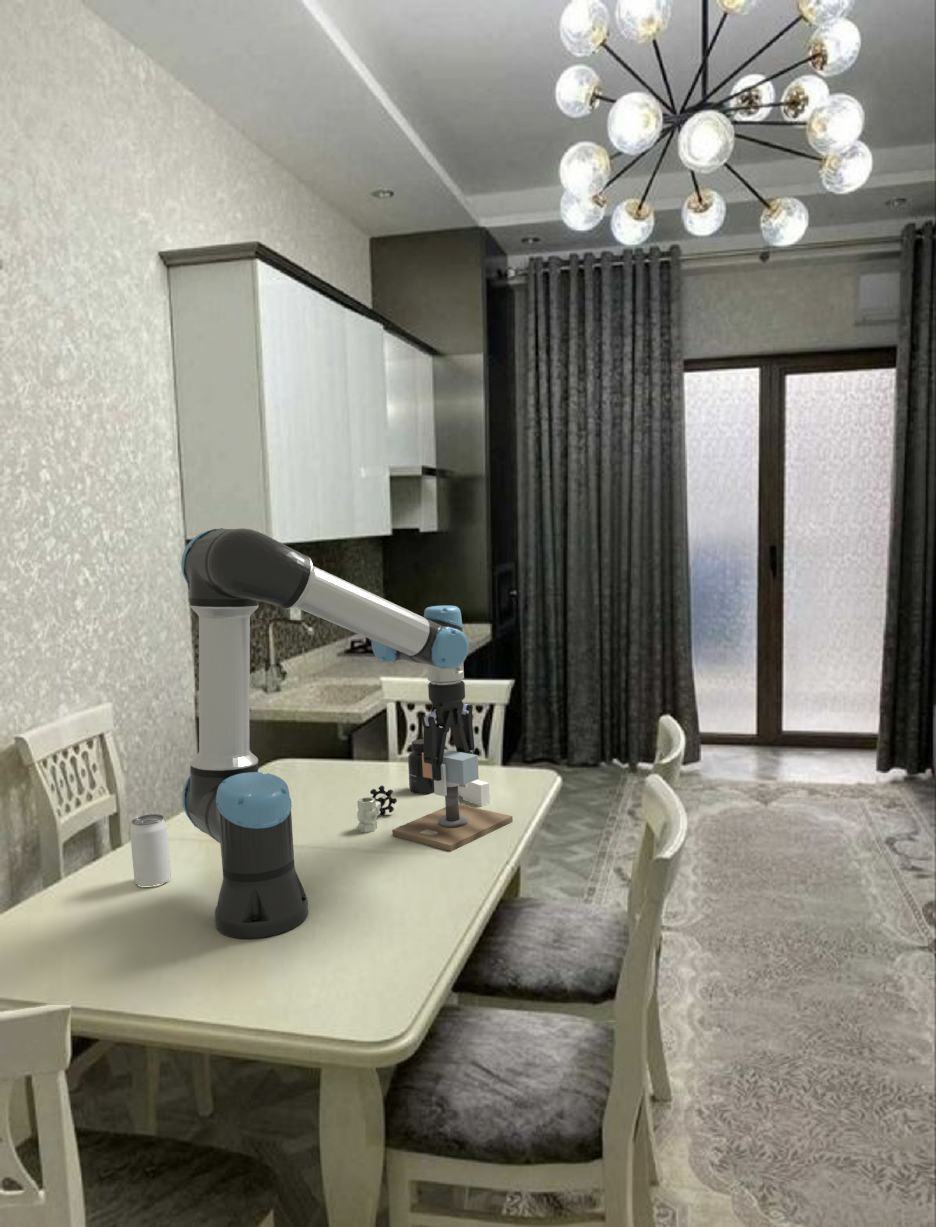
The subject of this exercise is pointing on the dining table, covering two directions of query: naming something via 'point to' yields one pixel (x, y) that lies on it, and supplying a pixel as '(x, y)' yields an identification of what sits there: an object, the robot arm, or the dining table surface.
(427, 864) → the dining table surface
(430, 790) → the supplement bottle
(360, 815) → the valve
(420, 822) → the board
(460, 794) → the white stepped block
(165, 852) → the can
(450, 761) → the blue-orange block
